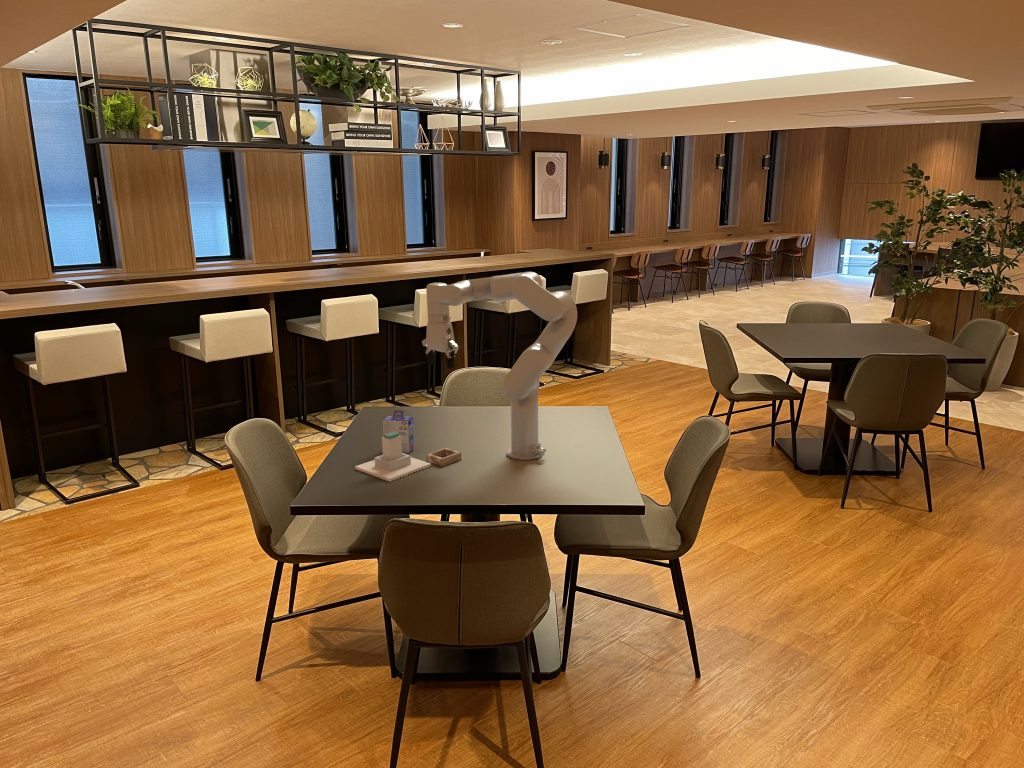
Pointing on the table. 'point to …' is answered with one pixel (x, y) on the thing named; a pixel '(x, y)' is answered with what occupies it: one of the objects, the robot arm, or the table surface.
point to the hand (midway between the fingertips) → (440, 366)
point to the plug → (391, 446)
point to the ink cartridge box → (400, 429)
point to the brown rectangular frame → (450, 457)
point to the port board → (392, 467)
